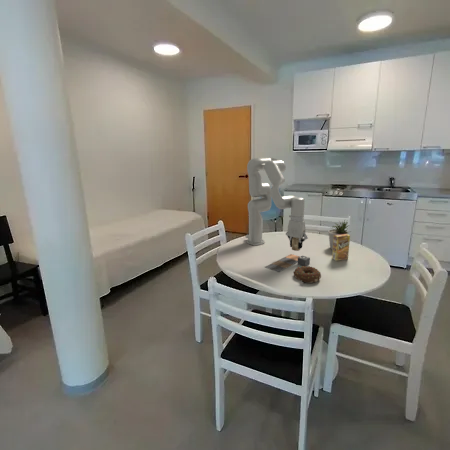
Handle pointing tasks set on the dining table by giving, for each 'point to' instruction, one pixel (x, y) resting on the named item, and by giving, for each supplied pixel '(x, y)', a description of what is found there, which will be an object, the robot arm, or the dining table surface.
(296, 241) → the pawn
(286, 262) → the board
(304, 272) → the donut
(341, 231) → the potted plant
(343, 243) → the candy box
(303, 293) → the dining table surface
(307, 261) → the die
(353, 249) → the dining table surface
